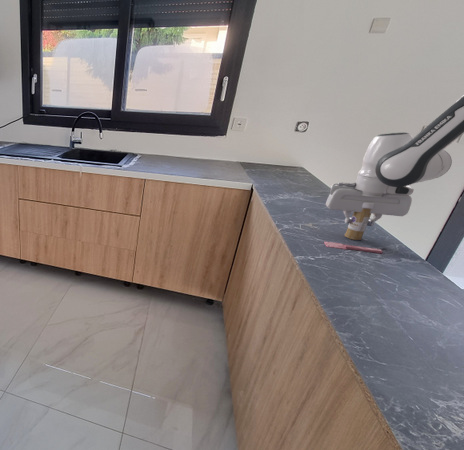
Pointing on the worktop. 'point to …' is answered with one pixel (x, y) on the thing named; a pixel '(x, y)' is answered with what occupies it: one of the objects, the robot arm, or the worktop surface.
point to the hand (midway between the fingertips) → (358, 224)
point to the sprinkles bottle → (359, 222)
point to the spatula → (351, 247)
